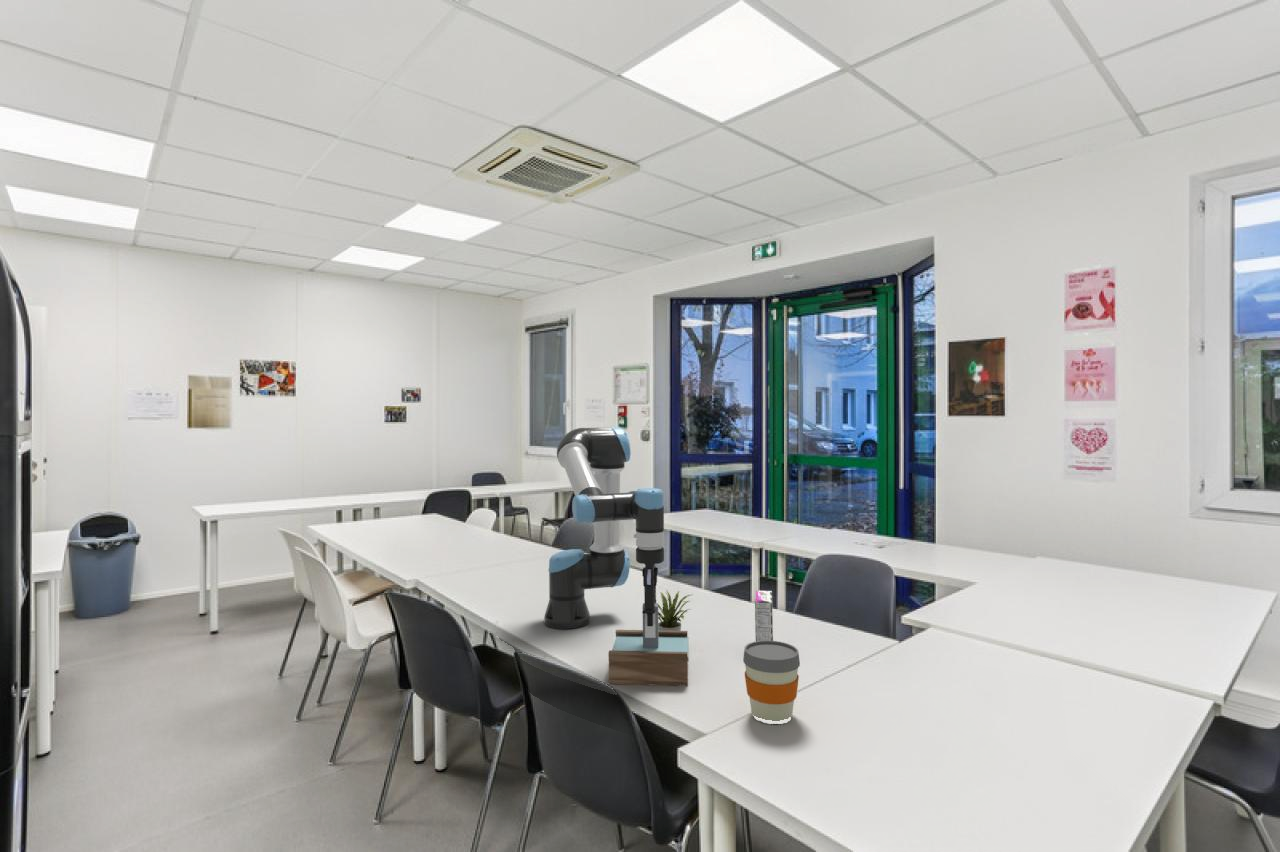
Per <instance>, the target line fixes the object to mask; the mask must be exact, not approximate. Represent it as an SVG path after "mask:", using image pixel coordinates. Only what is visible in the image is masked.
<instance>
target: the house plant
mask: <svg viewBox="0 0 1280 852" xmlns="http://www.w3.org/2000/svg"><path fill="white" fill-rule="evenodd" d="M665 590H666V591H665V594H666V596H665V594H664V593H663V592H660V596H661V600H662V601H661V602H662V607H661V605H660V604H659V603H658V610H660V611H658V630H662V631H682V620H684V619H685V615H684V614H685V613H689V612H688V611H690V610H691V608H688V609H686V610H684V609H682V608H683V607H684V606H685V605H686V604H687V603H689V602H690V600H685V599H687V598H688V597H690V596H694V594H687V595H685V596H684V597H682V598H681V599H680V601H679V602H678V599H679V595H680V590H678V591H677V592H676V593H675V596H674V598H673V599H672V598H671V594H670V593H669V591H668V590H667V589H665ZM666 597H667V598H666ZM677 602H678V603H677ZM682 603H683V604H682ZM681 604H682V605H681ZM679 607H680V608H679ZM677 610H678V611H677ZM680 613H681V614H680ZM679 614H680V615H679ZM678 615H679V616H678ZM680 618H681V619H682V620H681V619H680ZM659 621H660V622H659Z"/></svg>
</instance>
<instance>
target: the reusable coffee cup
mask: <svg viewBox="0 0 1280 852" xmlns="http://www.w3.org/2000/svg"><path fill="white" fill-rule="evenodd" d="M743 649H744V651H743V664H744V667H745V671H744V679H745V685H746V686H745V687H746V693H747V695H748V697H749V702H750V712H751V715H752V714H753V715H754V716H756V717H758V718H762V719H765V720H772V721H780V720H784V719H788V718H789V717H791V716H792V717H793V711H794V704H795V700H796V699H797V695H798V686H799V677H800V676H799V674H798V672H799V671H798V670H799V667H800V665H801V663H800V654H799V649H797V647H796V646H794V645H793V644H790V643H787V642H782V641H776V640H773V641H756V640H755V641H753V642H750V643H747V644H746V645H745V646H744V648H743Z"/></svg>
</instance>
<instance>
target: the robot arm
mask: <svg viewBox="0 0 1280 852" xmlns="http://www.w3.org/2000/svg"><path fill="white" fill-rule="evenodd" d="M556 447H557V449H556V456H557V457H556V458H557V460H558V463H559V465H560V467H562V468H563V469H565V473H566V476H567V478H568V481H569V483H570V486H571V489H572V491H573V494H574V496H573V498H572V502H571V503H572V505H571V509H572V510H571V511H572V517H573V520H574V521H575V522H576V523H594V527H593V528H594V533H593V534H594V535H593V537H594V538H593V539H594V540H593V543H592V545H590V546H589V553H585V551H584V550H583V549H580V548H577V549H572V548H571V549H566V550H562V551H558V552H556V553H554V554H552V555H551V556H550V557H549V561H548V562H549V563H548V581H549V583H548V584H549V585H548V587H549V588H548V590H549V591H548V592H549V593H548V594H549V597H548V598H549V599H548V603H547V606H546V609H545V613H544V615H543V616H544V618H543V622H544V625H545V626H546V627H549V628H551V629H555V630H557V629H558V630H570V629H569V628H573V629H578V628H582V627H584V625H585V626H587V625H588V624H589V623H590V622H591V614H590V611H589V608H588V605H587V602H586V598H585V590H591V589H600V588H615V587H619V586H623V585H625V584H626V582H627V580H628V578H629V575H630V569H631V567H630V565H631V562H630V555H629V553H628V551H626V550H625V546H624V545H623V544H621V542H620V541H621V540H620V534H621V533H620V529H621V528H620V526H621V525H620V523H621V522H620V521H630V520H631V521H632V520H635V534H633V538H634V539H635V546H637V547H636V548H635V561H636V562H637V563H639V564H644V565H645V566H644V567H642V571H641V572H642V575H641V576H642V577H643V578H642V579H643V581H642V582H643V583H642V584H643V589H644V590H643V591H644V603H645V610H644V611H643V610H642V611H641V612H642V613H641V614H642V615H643V614H645V638H655V637H656V633H655V603H657V583H658V574H659V567H657V564H661V563H664V562H665V548H664V545H665V508H664V507H665V499H664V492H663V490H662V489H660V488H656V487H642V488H639V489H638V488H637V490H631V491H628V492H621V472H622V471H623V470H624V469H625V463H627V462H629V461H630V459H631V443H630V440H629V436H628V434H627V432H626V431H625V430H624V429H623V428H621V427H612V426H610V427H609V426H608V427H605V426H603V427H579V428H575V429H572V430H570V431H569V432H567V433H566V434H565V435H564V436H562V438H561V439H560V441H559V443H558V445H557V446H556ZM586 624H587V625H586ZM581 626H582V627H581ZM577 627H578V628H577Z"/></svg>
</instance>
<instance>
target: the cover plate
mask: <svg viewBox="0 0 1280 852" xmlns="http://www.w3.org/2000/svg"><path fill="white" fill-rule="evenodd" d="M658 604H659V603H657V602H656V603H655V633H656V637H655V638H645V614H643V613H642V630H643V636H616V635H615V640H614V643H613V646H612V648H611V649H612V650H611V651H667V652H687V657H688V662H689V661H690V660H689V658H690V657H689V648H690V647H689V639H690V638H689V636H687V637H663V636H659V631H658V623H659V619H658V617H659V615H658V612H659V607H658ZM644 610H645V602H643V603H642V611H644Z"/></svg>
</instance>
